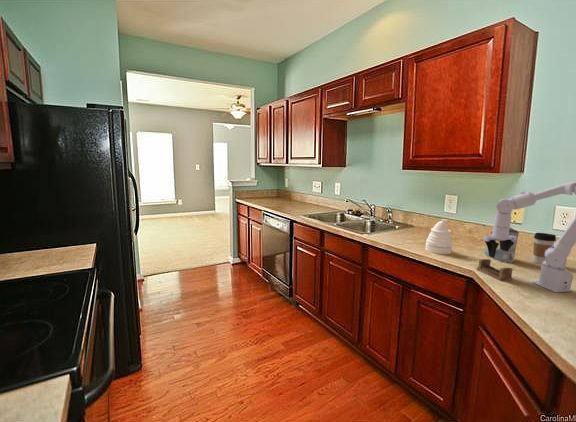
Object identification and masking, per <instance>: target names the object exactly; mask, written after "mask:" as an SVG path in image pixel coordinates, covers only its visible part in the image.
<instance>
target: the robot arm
mask: <svg viewBox="0 0 576 422" xmlns="http://www.w3.org/2000/svg"><path fill="white" fill-rule="evenodd" d="M574 194H575V195H576V181H575V180H574V181H573V180H572V181H569V182H565V183H560V184H557V185H554V186H552V187H549V188H546V189H542V190H539V191H537V192H531V191H526V192H525V191H521V192H520V193H519V194H517V195H513V196H510V195H509V196H507V198H502V199H499V201H498V202H497V203H496V211H495V216H494V221H493V229H492V233H491V234H490V235H485V236H483V241H484V243H485V245H486V248H488V252H489V256H490V257H494V256H495V252H496V249H497V247H498V245H499V243H496V242H495V241H499V242H500V249H501V250H504V251H507V252H508V250H509V249H510V247H511V246H512V245H513V244H514V242H512V241H511V240H513V241H516V236H513V235H509V229H510V228H511V221H512V211H513V210H520V209H523V208H526V207H527V208H528V207H530V206H535V204H536V202H537V201H540V200H543V199H547V198H551V197H555V196H559V195H568V196H573V195H574ZM574 245H576V216H574V217H573V220H571V222H570V223H569V224H568V226H567V227H566V229H565V230H564V232H563V233H562V234H561V236H560V237H559V239H557V240H556V241H555V242H554V245H553V246H552V247H550V248H548V249H547V250H546V251H545V253H544V255H545V261H543V262H542V264H541V268H540V273H539V278H538V281H532V284H535V285H537V286H539V287H542V288H544V289H547V290H549V291H551V292H554V293H565V292H572V288H571V287H572V283H573V277H574V275H573V273H572V272H571V271H570V270H568V269H567V268H566V264H567V263H568V261H567V260H568V257H569V255H570V253H571V251H572V249H573V247H574ZM490 257H489V258H490Z"/></svg>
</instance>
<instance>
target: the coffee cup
mask: <svg viewBox="0 0 576 422" xmlns="http://www.w3.org/2000/svg"><path fill="white" fill-rule="evenodd" d="M556 237H557V235H556V234H553V233H551V234H550V233H547V232H546V233H545V232H535V234H534V236H533V238H534V241H533V256H532V262H533V263H534V264H535V263H536V264H537V265H542V262H543V261H545V255H544V253H545V251H546V250H547V249H548V248H550V247H552V246H553V245H554V243H556V242H557V238H556Z"/></svg>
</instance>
